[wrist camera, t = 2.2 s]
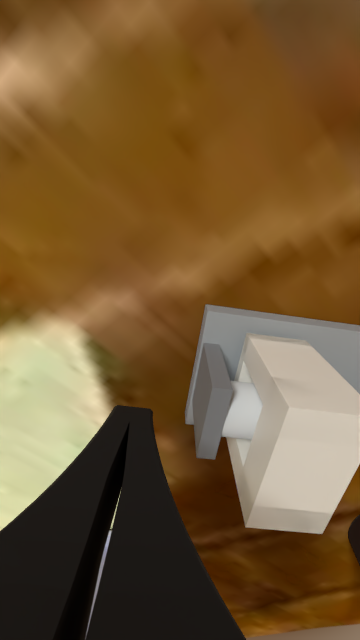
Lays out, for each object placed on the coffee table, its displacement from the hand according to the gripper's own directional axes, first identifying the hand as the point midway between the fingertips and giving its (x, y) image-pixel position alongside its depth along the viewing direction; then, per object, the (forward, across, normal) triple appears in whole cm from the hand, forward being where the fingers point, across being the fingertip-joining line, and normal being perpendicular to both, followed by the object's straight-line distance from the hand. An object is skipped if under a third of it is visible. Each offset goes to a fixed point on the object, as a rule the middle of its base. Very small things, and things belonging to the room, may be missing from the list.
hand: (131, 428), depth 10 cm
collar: (+4, -6, 0) cm, 7 cm away
